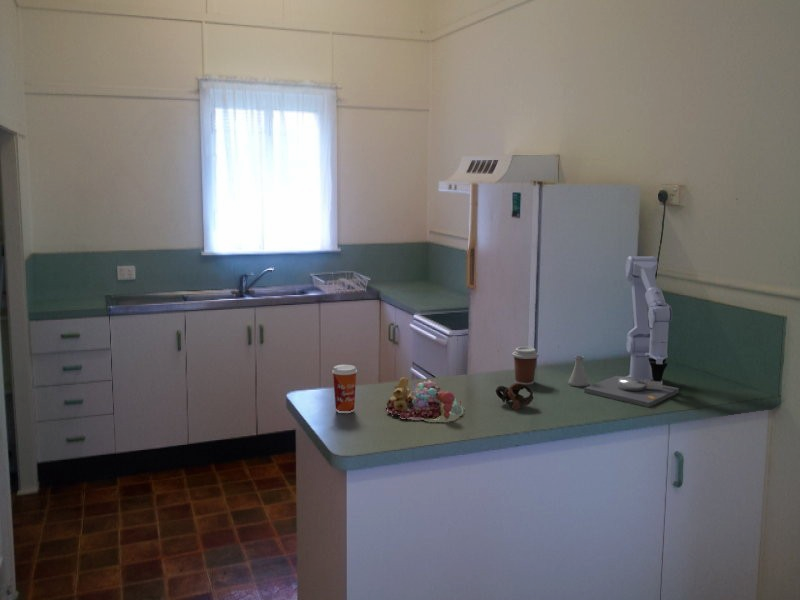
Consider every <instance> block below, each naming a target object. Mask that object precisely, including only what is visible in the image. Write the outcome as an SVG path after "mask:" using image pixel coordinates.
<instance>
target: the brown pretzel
mask: <svg viewBox="0 0 800 600" xmlns="http://www.w3.org/2000/svg"><path fill="white" fill-rule="evenodd" d="M524 389H525V390H526V391H527V392H528V393H529V395H528V396H523V395H522V394H520V391H521V390H522V391H523V390H524ZM495 393H496V395H497V397H498V398H499V399H501V401H502V402H503V403H508V402H510V401H512V402H513V404H512V406H511V407H512V410H515V409H516V411H517V410H519V408H523V407H527V406H529V405H530V404H531V403H532V402H533V400H534V394H533V393H534V392H533V390H532V388H531V387H530V386H529V385H525V384H522V383H516V382H515V383H513V384H511V385H510V387H506V386H504V385H499V386H497V387H496V389H495Z"/></svg>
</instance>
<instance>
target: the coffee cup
mask: <svg viewBox="0 0 800 600" xmlns="http://www.w3.org/2000/svg"><path fill="white" fill-rule="evenodd" d="M511 356H512V357H513V361H514V380H515V383H522V384H525V385H527V386H529V385H533V384H534V382H535V373H536V366H537V358H539V356H540V355H539V353H538V352H537V350H536V348H535V347H531V346H518V347H516V348H515V350H514V351H513V352H512V353H511Z"/></svg>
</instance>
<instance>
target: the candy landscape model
mask: <svg viewBox="0 0 800 600" xmlns="http://www.w3.org/2000/svg"><path fill="white" fill-rule="evenodd" d="M408 385H409V378H407V377H404V376H402V377H401V378H399V380H398V385H397V386H396V385H395V386H394V390H393V392H392V394H393V396H391V397H390V398H389V399H388V401H387V402H386V405H385V406H386V407H387V408H388V409H387V410H386V413H387V412H388V413H387V414H389V413H392V414H390V416H391V415H395V416H398V418H399V417H401V418H413V419H424V420H431V421H432V420H437V419H436V418H437V417H439V416H444V417H445V418H444V420H445V421H447V420H448V419H449V417H450V414H453V415H460V414H462V413H463V408H464V407H463V406H462V402H461V400H459V401H458V400H457V399H456V398H455V395H454V393H453V392H451V391H442V388H440V386H438V385H437V383H436V381H432V380H431V379H429V380H427V381H422V382H420V380H418V381H417V383H416V381H414V382H413V386H412V389H411V388H407V386H408ZM386 407H385V408H386ZM462 407H463V408H462ZM460 410H461V411H460ZM398 414H400V416H399V415H398ZM439 419H440V418H439ZM439 419H438V420H439Z"/></svg>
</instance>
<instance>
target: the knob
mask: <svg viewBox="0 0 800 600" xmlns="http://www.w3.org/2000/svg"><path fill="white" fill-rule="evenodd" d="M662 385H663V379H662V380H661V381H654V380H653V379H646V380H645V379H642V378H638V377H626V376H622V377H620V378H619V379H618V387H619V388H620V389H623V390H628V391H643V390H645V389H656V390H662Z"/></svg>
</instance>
